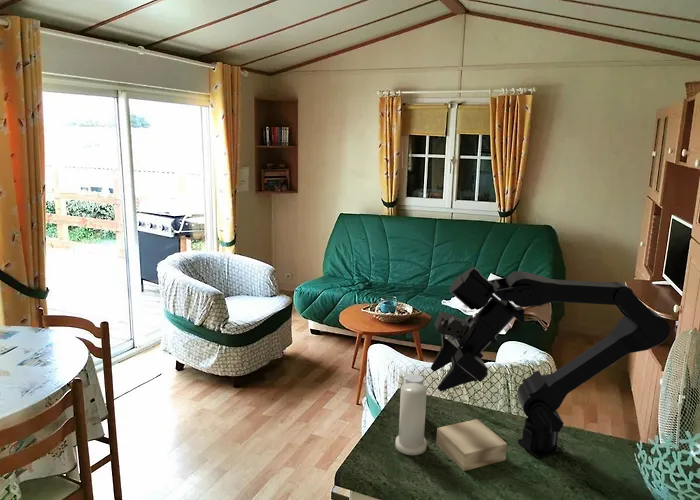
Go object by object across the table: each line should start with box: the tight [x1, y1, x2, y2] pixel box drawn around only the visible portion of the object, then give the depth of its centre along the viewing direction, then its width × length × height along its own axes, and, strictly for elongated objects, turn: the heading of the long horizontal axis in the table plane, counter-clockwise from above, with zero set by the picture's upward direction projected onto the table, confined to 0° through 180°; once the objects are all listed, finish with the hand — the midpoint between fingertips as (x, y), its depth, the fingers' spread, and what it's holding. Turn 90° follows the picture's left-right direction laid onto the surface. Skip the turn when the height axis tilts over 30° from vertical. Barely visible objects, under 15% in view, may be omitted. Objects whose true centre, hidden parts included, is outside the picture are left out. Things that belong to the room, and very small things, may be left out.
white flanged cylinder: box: [395, 383, 428, 456], centre depth 111 cm, size 6×6×13 cm
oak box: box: [435, 418, 508, 472], centre depth 110 cm, size 10×10×4 cm
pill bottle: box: [404, 374, 424, 386], centre depth 122 cm, size 6×5×10 cm
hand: (435, 379), depth 110 cm, fingers open, 9 cm apart
